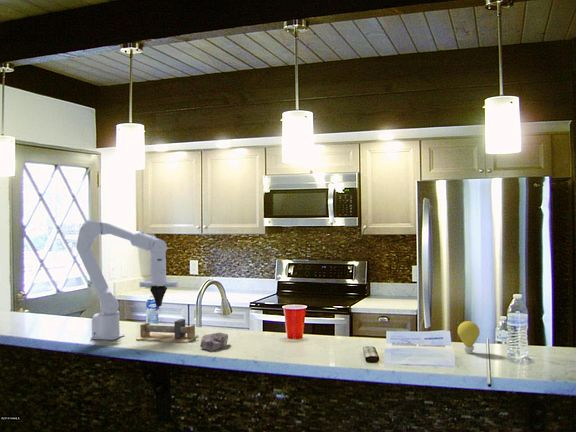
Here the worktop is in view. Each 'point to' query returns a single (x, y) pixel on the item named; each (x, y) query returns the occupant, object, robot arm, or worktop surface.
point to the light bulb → (468, 335)
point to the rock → (214, 341)
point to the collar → (177, 328)
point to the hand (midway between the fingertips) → (158, 306)
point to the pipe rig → (148, 336)
